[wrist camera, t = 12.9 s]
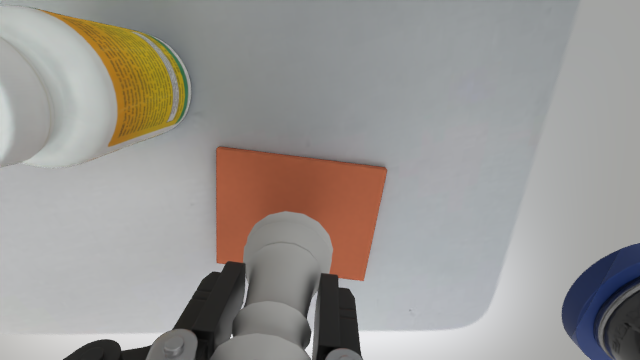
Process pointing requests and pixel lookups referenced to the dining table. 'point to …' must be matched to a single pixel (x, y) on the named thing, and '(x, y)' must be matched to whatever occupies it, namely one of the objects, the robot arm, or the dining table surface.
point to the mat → (298, 202)
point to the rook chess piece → (278, 288)
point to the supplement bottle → (82, 88)
